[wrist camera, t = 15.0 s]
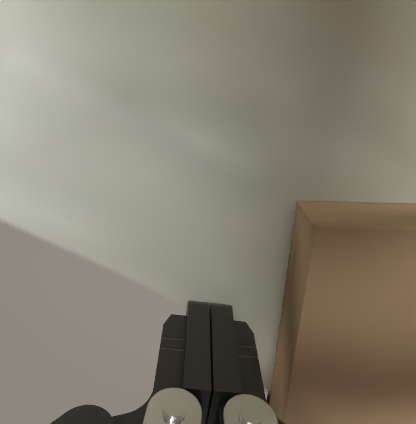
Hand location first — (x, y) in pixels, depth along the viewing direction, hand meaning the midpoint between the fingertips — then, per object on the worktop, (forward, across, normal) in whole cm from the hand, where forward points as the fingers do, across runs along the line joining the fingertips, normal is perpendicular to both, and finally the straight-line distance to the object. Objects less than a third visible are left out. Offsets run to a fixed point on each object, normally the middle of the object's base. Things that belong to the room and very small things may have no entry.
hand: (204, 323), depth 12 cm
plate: (+2, -8, 0) cm, 8 cm away
